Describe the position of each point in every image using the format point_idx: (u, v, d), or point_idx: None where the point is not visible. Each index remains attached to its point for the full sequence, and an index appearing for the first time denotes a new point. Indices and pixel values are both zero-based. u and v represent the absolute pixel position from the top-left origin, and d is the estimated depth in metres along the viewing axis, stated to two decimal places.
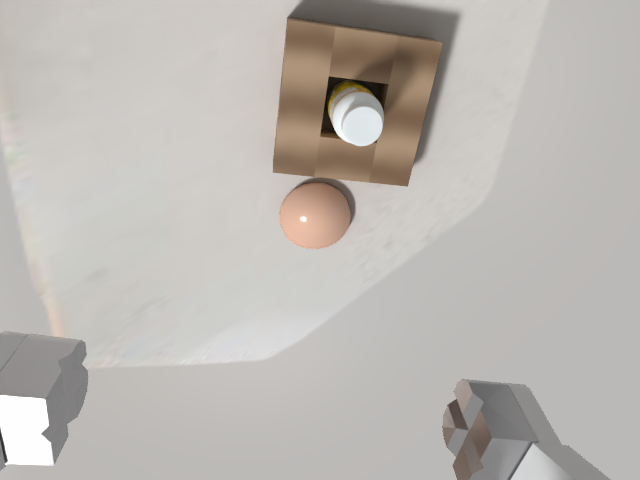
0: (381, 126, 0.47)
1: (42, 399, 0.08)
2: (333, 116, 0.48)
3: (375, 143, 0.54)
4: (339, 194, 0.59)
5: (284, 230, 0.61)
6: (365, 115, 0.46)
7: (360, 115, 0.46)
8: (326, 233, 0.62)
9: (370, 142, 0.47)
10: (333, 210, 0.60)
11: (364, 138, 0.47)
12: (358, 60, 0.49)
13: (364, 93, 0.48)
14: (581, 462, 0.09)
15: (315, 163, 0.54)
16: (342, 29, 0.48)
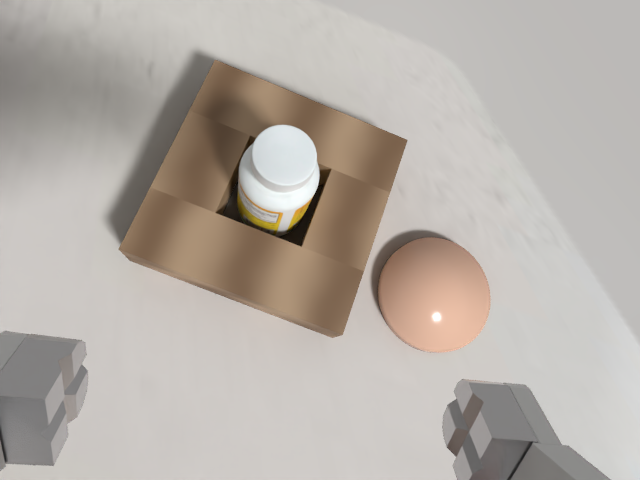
0: (291, 127, 0.29)
1: (42, 399, 0.08)
2: (265, 206, 0.30)
3: (331, 170, 0.36)
4: (403, 247, 0.38)
5: (449, 348, 0.36)
6: (267, 146, 0.29)
7: (265, 153, 0.28)
8: (466, 281, 0.38)
9: (313, 149, 0.29)
10: (428, 262, 0.38)
11: (304, 156, 0.29)
12: (204, 167, 0.34)
13: (243, 155, 0.31)
14: (581, 462, 0.09)
15: (342, 263, 0.34)
16: (156, 179, 0.33)
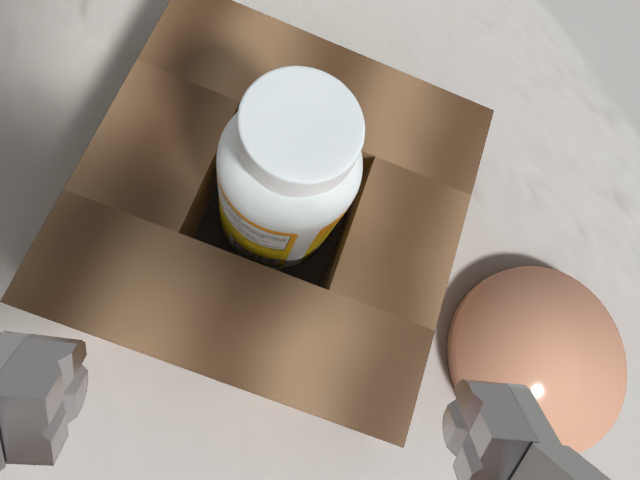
0: (314, 71, 0.15)
1: (42, 399, 0.08)
2: (266, 224, 0.16)
3: (375, 159, 0.21)
4: (487, 282, 0.24)
5: None
6: (269, 106, 0.14)
7: (265, 120, 0.14)
8: (587, 336, 0.24)
9: (357, 112, 0.15)
10: (527, 306, 0.24)
11: (341, 126, 0.15)
12: (161, 155, 0.20)
13: (224, 129, 0.17)
14: (581, 462, 0.09)
15: (399, 318, 0.20)
16: (75, 175, 0.19)
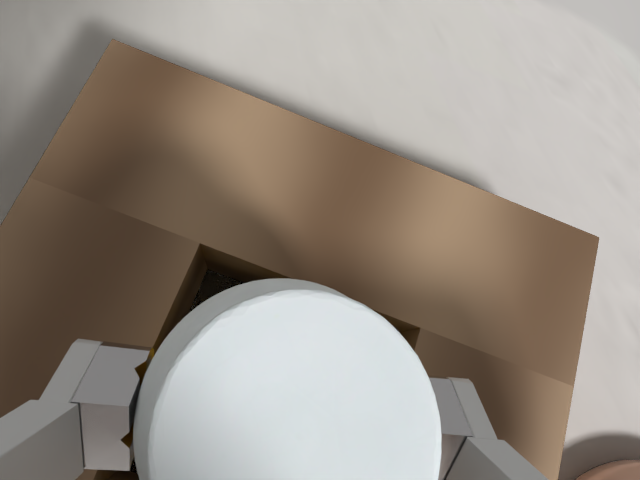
0: (329, 301, 0.07)
1: (126, 406, 0.08)
2: None
3: (420, 333, 0.13)
4: None
5: None
6: (224, 404, 0.06)
7: (214, 443, 0.06)
8: None
9: (424, 395, 0.07)
10: None
11: (389, 436, 0.06)
12: (62, 350, 0.12)
13: None
14: (514, 457, 0.09)
15: None
16: None
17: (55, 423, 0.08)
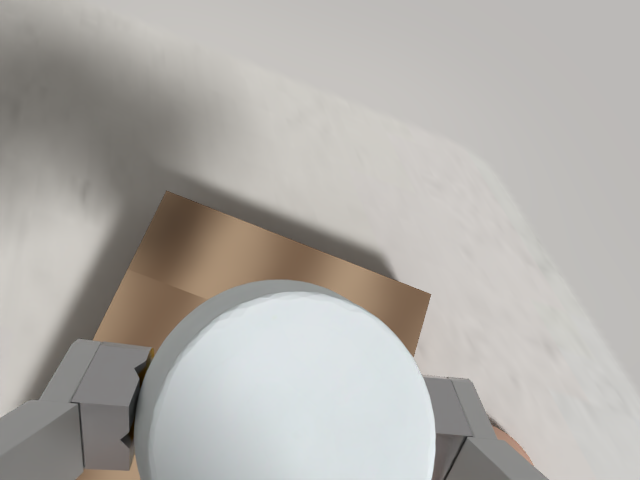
0: (326, 303, 0.07)
1: (126, 406, 0.08)
2: None
3: None
4: None
5: None
6: (223, 404, 0.06)
7: (212, 442, 0.06)
8: None
9: (419, 395, 0.07)
10: None
11: (384, 435, 0.07)
12: None
13: (153, 361, 0.09)
14: (515, 457, 0.09)
15: None
16: None
17: (55, 423, 0.08)
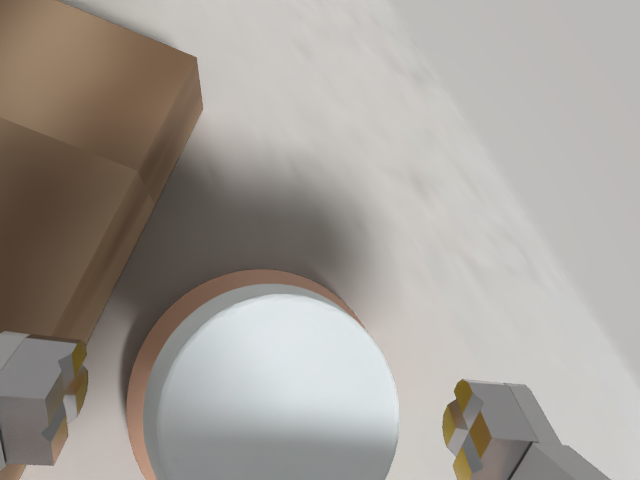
0: (306, 303, 0.08)
1: (42, 399, 0.08)
2: None
3: None
4: (193, 292, 0.17)
5: None
6: (218, 388, 0.08)
7: (210, 419, 0.07)
8: None
9: (385, 382, 0.08)
10: None
11: (355, 415, 0.08)
12: None
13: (159, 355, 0.10)
14: (581, 462, 0.09)
15: None
16: None
17: None
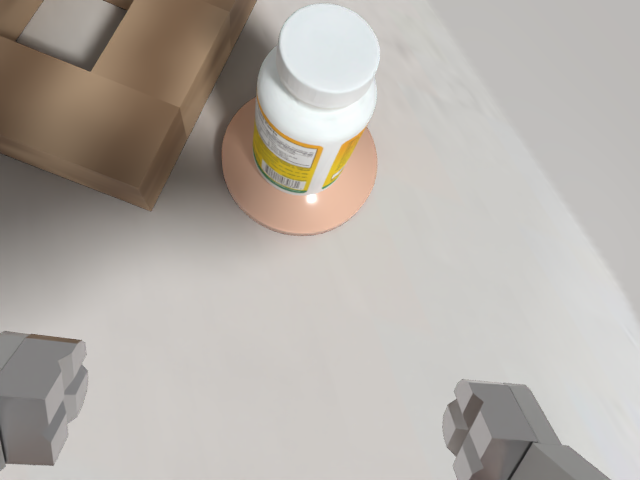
0: (340, 8, 0.19)
1: (42, 399, 0.08)
2: (298, 136, 0.20)
3: None
4: None
5: (314, 226, 0.26)
6: (303, 33, 0.18)
7: (300, 44, 0.18)
8: None
9: (374, 40, 0.19)
10: None
11: (360, 50, 0.18)
12: None
13: (264, 61, 0.21)
14: (581, 462, 0.09)
15: (149, 96, 0.24)
16: None
17: None
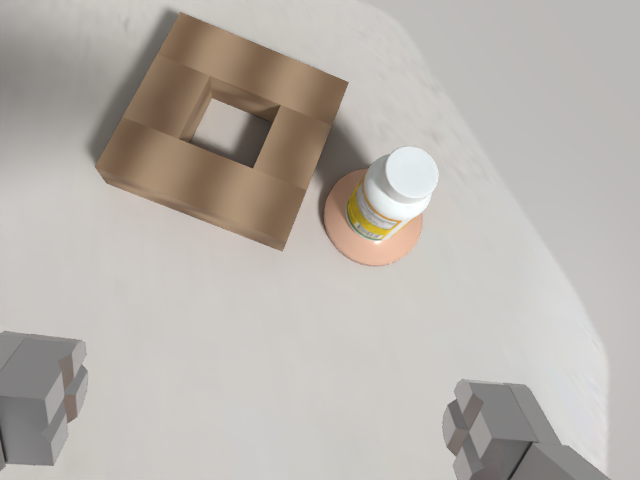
0: (416, 148, 0.34)
1: (42, 399, 0.08)
2: (389, 215, 0.35)
3: (281, 106, 0.41)
4: (346, 176, 0.43)
5: (384, 261, 0.42)
6: (398, 164, 0.34)
7: (396, 170, 0.33)
8: None
9: (435, 166, 0.34)
10: None
11: (428, 173, 0.34)
12: (169, 101, 0.40)
13: (368, 171, 0.36)
14: (581, 462, 0.09)
15: (288, 183, 0.39)
16: (128, 110, 0.39)
17: None
